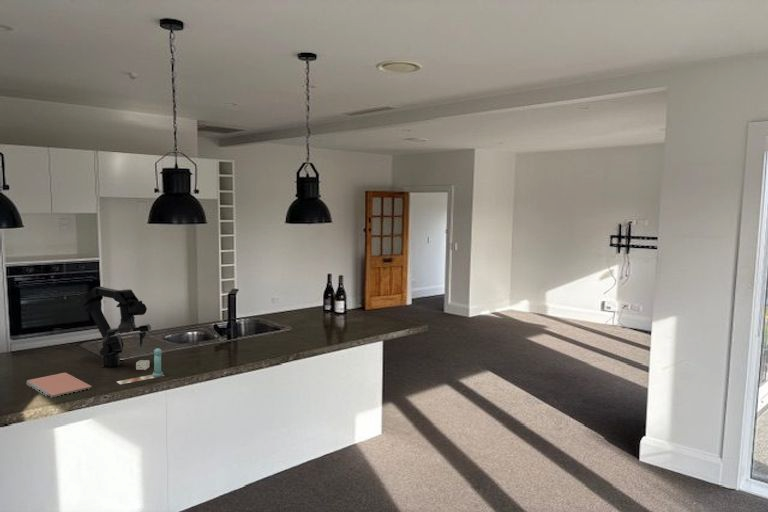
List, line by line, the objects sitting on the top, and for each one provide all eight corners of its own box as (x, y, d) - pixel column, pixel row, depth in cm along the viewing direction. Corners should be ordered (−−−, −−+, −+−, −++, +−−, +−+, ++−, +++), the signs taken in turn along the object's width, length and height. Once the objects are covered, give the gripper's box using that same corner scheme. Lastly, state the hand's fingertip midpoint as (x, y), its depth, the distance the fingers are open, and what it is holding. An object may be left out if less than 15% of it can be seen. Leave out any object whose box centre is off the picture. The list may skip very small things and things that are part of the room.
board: (119, 388, 238) (119, 385, 238) (114, 384, 242) (114, 381, 242) (166, 378, 252) (166, 375, 252) (160, 375, 257) (160, 372, 257)
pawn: (150, 376, 250) (151, 349, 249) (154, 373, 255) (154, 347, 253) (160, 376, 250) (160, 349, 249) (164, 373, 255) (164, 347, 253)
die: (135, 371, 260) (135, 362, 259) (139, 368, 264) (139, 359, 264) (145, 372, 260) (145, 362, 259) (149, 369, 264) (149, 360, 264)
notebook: (24, 384, 239) (24, 380, 239) (65, 376, 253) (65, 371, 252) (49, 400, 223) (49, 395, 222) (91, 390, 236) (91, 385, 236)
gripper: (100, 320, 251) (104, 353, 251) (143, 315, 254) (146, 348, 254) (109, 317, 262) (112, 349, 262) (149, 312, 265) (153, 344, 265)
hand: (131, 347), depth 261 cm, fingers open, 9 cm apart
